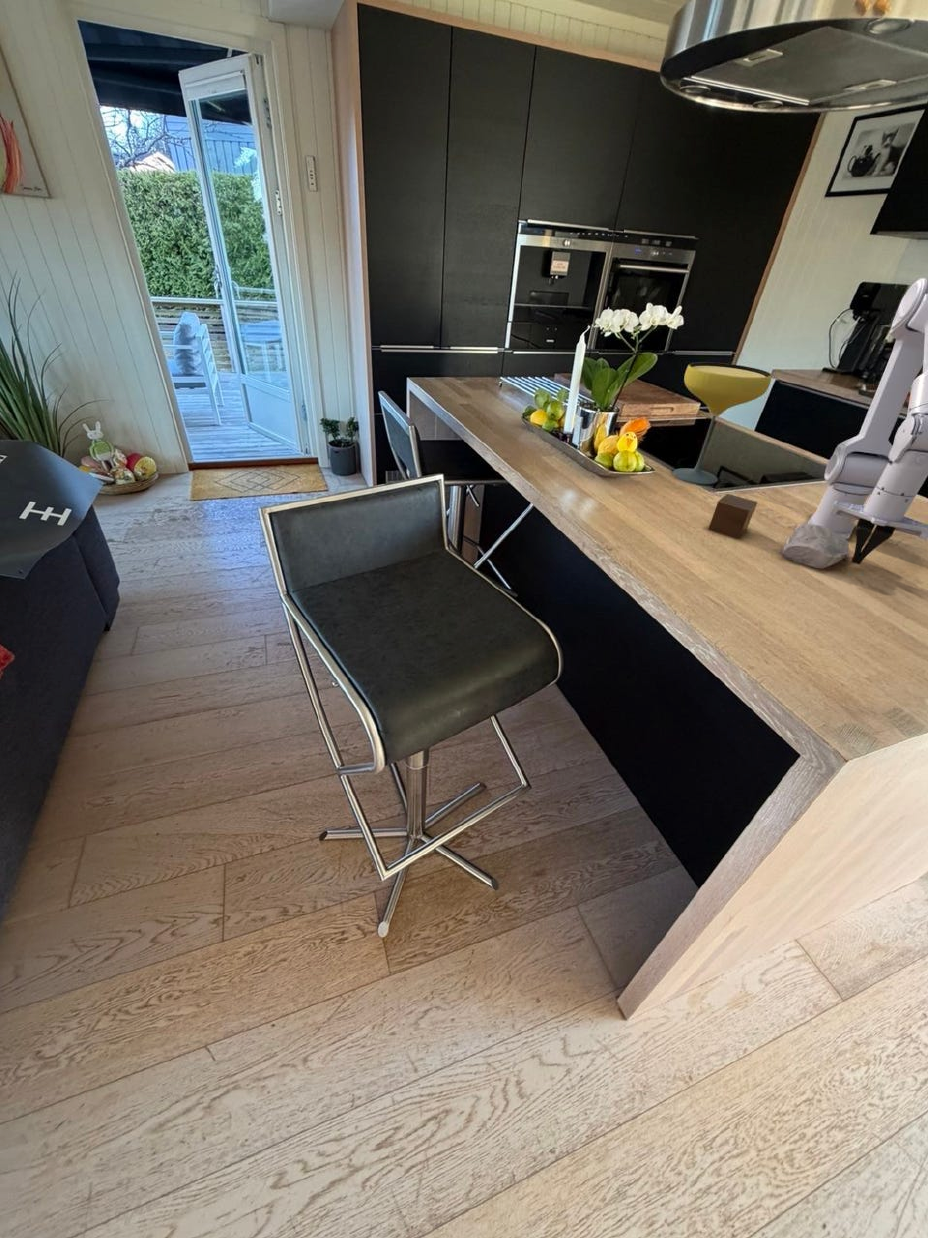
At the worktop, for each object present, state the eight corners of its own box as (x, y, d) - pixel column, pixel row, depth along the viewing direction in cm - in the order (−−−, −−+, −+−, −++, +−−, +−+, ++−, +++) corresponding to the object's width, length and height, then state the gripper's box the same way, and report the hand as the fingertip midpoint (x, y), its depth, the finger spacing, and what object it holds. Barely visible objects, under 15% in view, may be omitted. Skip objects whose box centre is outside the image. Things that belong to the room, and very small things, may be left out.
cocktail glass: (737, 474, 136) (775, 369, 121) (727, 496, 123) (769, 381, 108) (667, 459, 142) (695, 359, 128) (650, 478, 130) (680, 368, 115)
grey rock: (839, 560, 102) (789, 535, 106) (856, 540, 99) (804, 515, 102) (827, 585, 95) (774, 556, 98) (845, 564, 91) (789, 536, 95)
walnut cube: (717, 520, 110) (727, 493, 107) (746, 529, 108) (757, 502, 104) (708, 529, 107) (718, 501, 103) (738, 538, 104) (749, 510, 100)
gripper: (843, 484, 88) (808, 555, 96) (948, 509, 81) (901, 584, 89) (849, 474, 93) (815, 542, 101) (949, 497, 86) (904, 569, 94)
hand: (856, 561), depth 95 cm, fingers closed
